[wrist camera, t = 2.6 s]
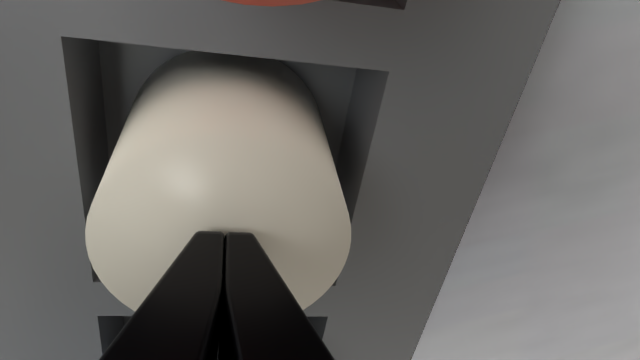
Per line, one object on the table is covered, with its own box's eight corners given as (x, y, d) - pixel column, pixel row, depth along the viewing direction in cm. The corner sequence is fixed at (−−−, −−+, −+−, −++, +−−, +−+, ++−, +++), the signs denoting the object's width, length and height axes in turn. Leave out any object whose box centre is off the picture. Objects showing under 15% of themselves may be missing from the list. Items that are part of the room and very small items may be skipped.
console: (358, 354, 17) (377, 439, 15) (50, 358, 15) (13, 457, 13) (596, -389, 7) (767, -500, 5) (-174, -645, 5) (-508, -1038, 3)
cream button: (307, 215, 12) (328, 332, 9) (134, 207, 11) (97, 333, 8) (336, 57, 10) (376, 146, 7) (123, 34, 9) (70, 123, 6)
